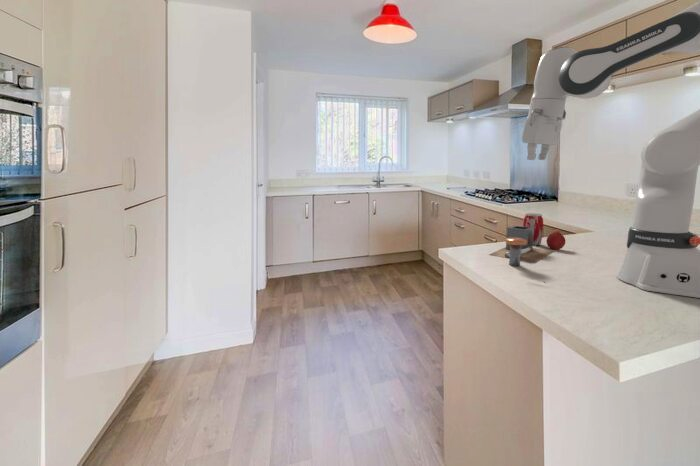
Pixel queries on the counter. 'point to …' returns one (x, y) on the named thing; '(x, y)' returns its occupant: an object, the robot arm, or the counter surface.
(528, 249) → the keeper
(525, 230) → the socket
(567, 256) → the counter surface
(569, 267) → the counter surface
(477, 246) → the counter surface
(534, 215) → the soda can
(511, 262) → the pin
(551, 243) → the onion
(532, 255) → the board
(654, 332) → the counter surface
